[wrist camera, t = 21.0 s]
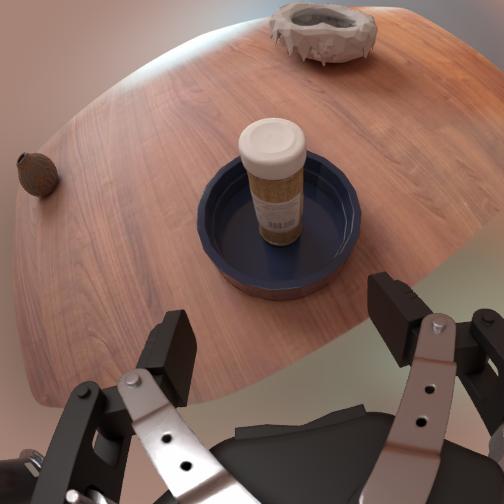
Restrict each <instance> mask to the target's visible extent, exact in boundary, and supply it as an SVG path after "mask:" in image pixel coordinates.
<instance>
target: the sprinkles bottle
mask: <svg viewBox="0 0 504 504" xmlns="http://www.w3.org/2000/svg"><path fill="white" fill-rule="evenodd" d="M239 151H240V155H241V159H242V163H243V165H244V167H245V168H246V170H247V173H248V177H249V184H250V190H251V194H252V198H253V202H254V207H255V211H256V215H257V219H258V221H259V231H260V234H261V236H262V237H263V239H264V240H265V241H266V242H268V243H270V244H272V245H275V246H286V245H289V244H291V243H293V242H294V241H295V240H297V238H298V237H299V236H300V234H301V231H302V223H301V217H302V212H303V166H304V163H305V160H306V137H305V134H304V132H303V131H302V129H301V128H300V127H299V126H298V125H296V124H295V123H293V122H291V121H288V120H285V119H280V118H267V119H262V120H259V121H256V122H254V123H252V124H251V125H249V126H248V127H247V128H246V129H245V130H244V131H243V132H242V134H241V136H240V138H239Z"/></svg>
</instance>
